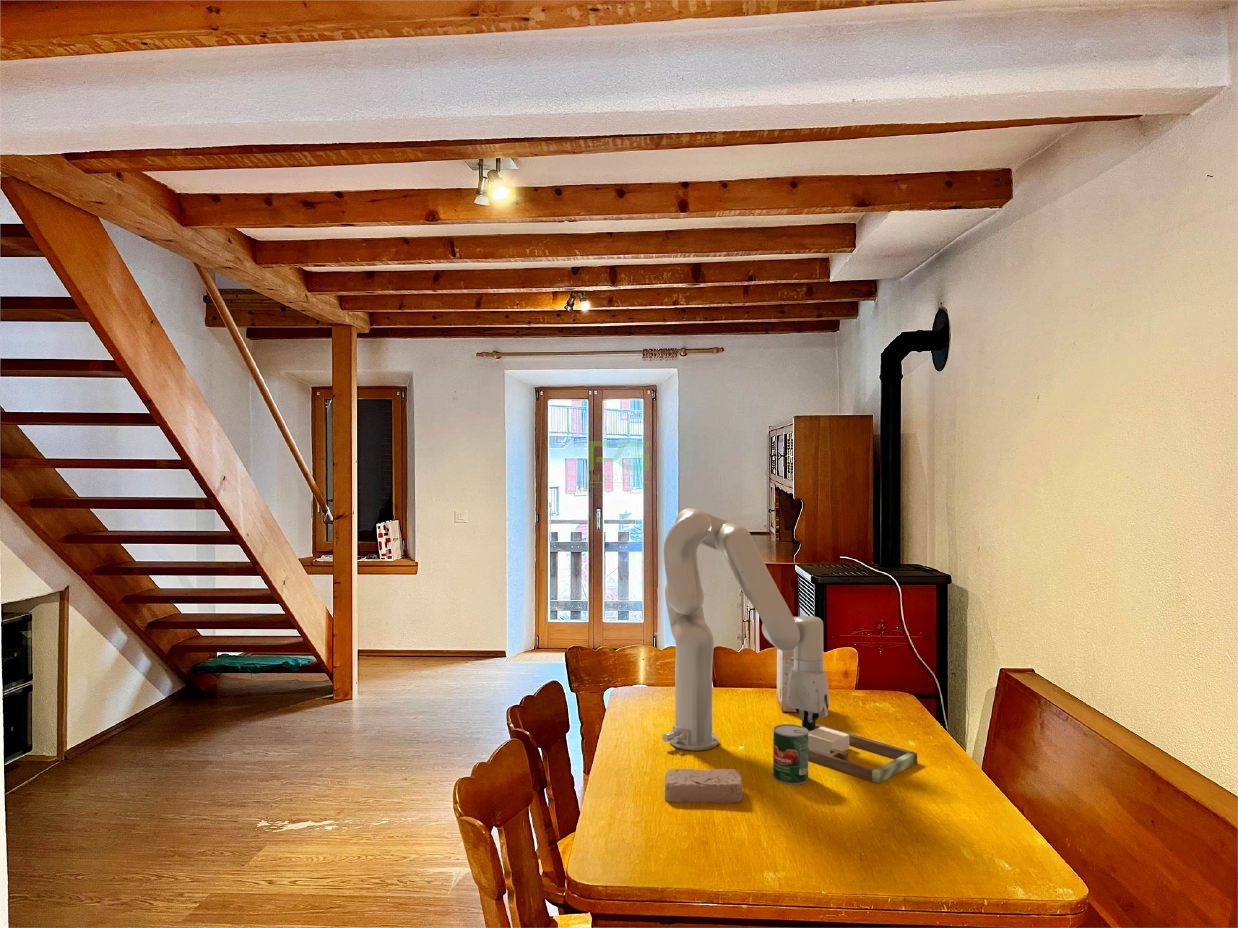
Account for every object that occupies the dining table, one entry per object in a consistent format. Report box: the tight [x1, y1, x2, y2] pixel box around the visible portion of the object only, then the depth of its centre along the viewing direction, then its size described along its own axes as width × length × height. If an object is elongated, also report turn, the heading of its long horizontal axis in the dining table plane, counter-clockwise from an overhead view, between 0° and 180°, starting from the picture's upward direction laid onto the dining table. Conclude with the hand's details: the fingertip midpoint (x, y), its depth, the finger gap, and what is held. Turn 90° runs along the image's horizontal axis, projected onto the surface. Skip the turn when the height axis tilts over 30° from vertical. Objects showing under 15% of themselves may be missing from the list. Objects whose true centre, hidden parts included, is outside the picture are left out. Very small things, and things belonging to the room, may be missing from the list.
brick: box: [663, 768, 744, 804], centre depth 165 cm, size 17×8×5 cm, turn 87°
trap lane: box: [808, 723, 918, 784], centre depth 187 cm, size 18×28×2 cm, turn 42°
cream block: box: [808, 727, 850, 755], centre depth 192 cm, size 8×8×4 cm
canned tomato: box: [772, 723, 809, 786], centre depth 174 cm, size 8×8×11 cm
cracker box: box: [776, 648, 797, 713], centre depth 227 cm, size 14×6×21 cm, turn 174°
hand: (808, 735), depth 197 cm, fingers closed
